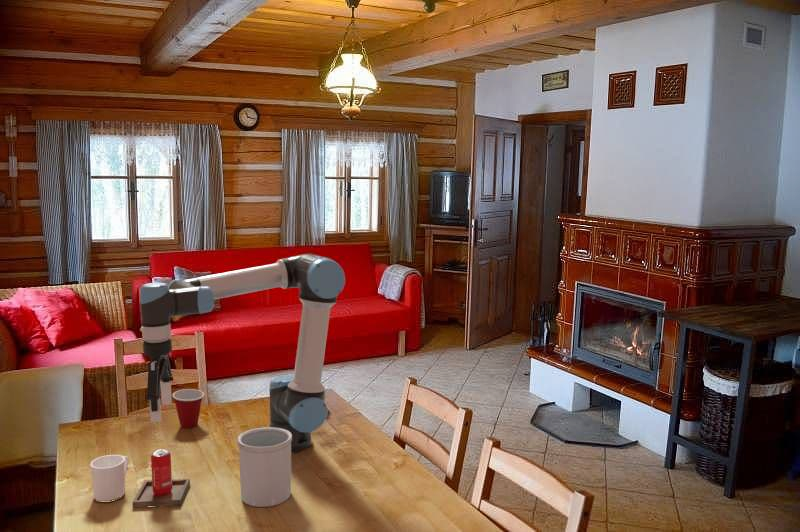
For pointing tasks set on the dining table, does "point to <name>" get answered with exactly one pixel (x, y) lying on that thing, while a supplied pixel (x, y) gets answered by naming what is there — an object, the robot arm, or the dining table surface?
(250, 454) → the utensil holder
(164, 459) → the beverage can
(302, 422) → the robot arm
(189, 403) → the plastic cup
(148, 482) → the tray
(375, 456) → the dining table surface
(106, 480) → the mug
